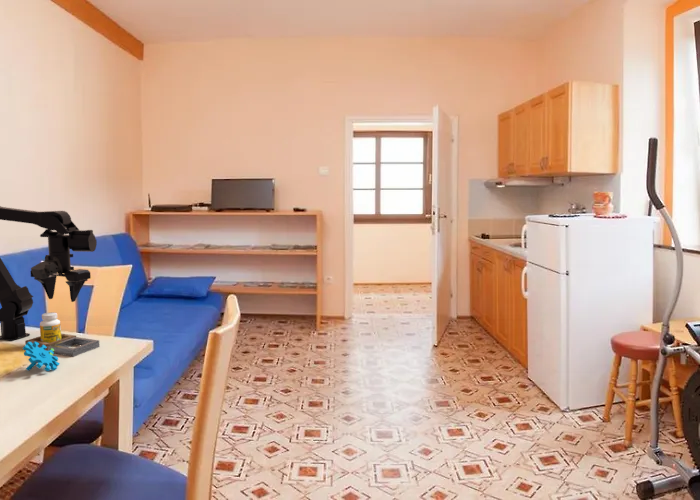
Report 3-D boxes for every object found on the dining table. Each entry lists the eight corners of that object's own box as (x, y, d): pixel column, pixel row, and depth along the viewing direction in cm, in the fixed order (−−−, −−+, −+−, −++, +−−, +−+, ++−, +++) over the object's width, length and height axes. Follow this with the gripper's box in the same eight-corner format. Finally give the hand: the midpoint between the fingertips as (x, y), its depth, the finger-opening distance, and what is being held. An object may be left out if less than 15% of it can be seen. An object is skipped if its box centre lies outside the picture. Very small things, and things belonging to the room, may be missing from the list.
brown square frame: (25, 347, 147) (25, 340, 147) (53, 338, 156) (53, 332, 156) (49, 351, 145) (49, 344, 144) (76, 341, 153) (76, 335, 153)
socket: (48, 352, 143) (47, 345, 143) (75, 343, 152) (75, 336, 152) (73, 356, 141) (72, 349, 140) (99, 346, 149) (99, 340, 149)
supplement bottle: (60, 340, 154) (58, 310, 153) (62, 345, 150) (61, 314, 149) (40, 343, 151) (38, 313, 150) (41, 348, 147) (39, 317, 146)
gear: (47, 371, 125) (19, 343, 125) (30, 387, 125) (1, 359, 125) (69, 361, 136) (43, 336, 136) (53, 377, 136) (27, 351, 136)
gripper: (12, 252, 150) (15, 302, 152) (59, 256, 144) (62, 308, 146) (45, 248, 160) (48, 295, 162) (90, 252, 154) (93, 300, 156)
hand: (61, 300), depth 156 cm, fingers open, 9 cm apart
